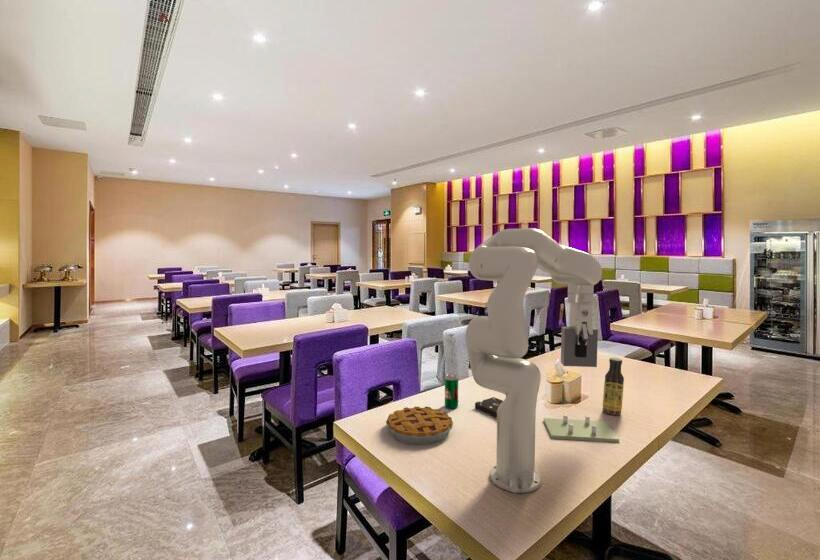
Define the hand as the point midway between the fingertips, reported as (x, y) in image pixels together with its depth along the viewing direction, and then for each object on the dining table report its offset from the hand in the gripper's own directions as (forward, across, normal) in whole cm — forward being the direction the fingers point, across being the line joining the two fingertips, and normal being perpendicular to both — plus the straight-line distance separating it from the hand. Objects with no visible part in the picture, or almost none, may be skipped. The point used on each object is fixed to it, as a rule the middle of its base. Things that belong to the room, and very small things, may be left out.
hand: (578, 354), depth 129 cm
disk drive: (+26, +13, +24) cm, 38 cm away
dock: (+25, 0, -1) cm, 25 cm away
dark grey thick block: (+3, 0, 0) cm, 3 cm away
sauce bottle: (+26, +17, -17) cm, 35 cm away
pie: (+26, -6, +51) cm, 57 cm away
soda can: (+25, +15, +41) cm, 51 cm away
